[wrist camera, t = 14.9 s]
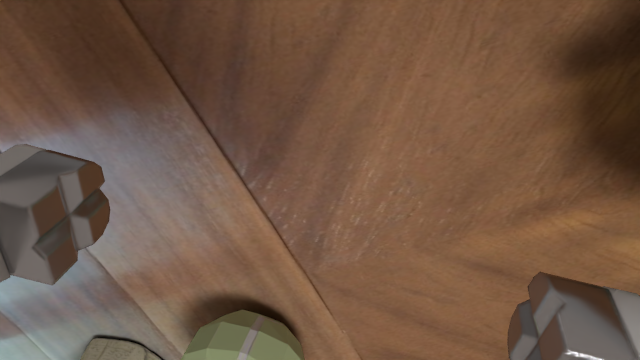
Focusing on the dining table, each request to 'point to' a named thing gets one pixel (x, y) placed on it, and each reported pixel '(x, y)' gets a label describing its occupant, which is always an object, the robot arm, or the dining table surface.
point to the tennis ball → (244, 339)
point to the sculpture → (116, 350)
